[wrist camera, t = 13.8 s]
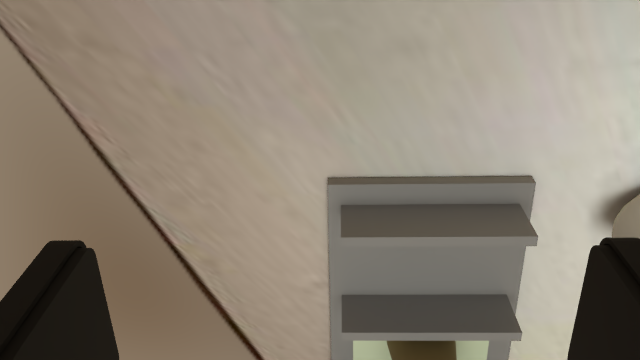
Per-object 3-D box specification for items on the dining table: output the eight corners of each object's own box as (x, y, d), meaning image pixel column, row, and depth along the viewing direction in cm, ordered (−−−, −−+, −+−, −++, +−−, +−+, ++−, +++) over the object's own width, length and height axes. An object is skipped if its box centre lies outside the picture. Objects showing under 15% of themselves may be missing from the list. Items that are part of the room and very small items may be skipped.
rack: (531, 176, 47) (556, 214, 41) (500, 383, 57) (516, 435, 51) (327, 177, 47) (326, 215, 42) (331, 382, 57) (331, 434, 52)
